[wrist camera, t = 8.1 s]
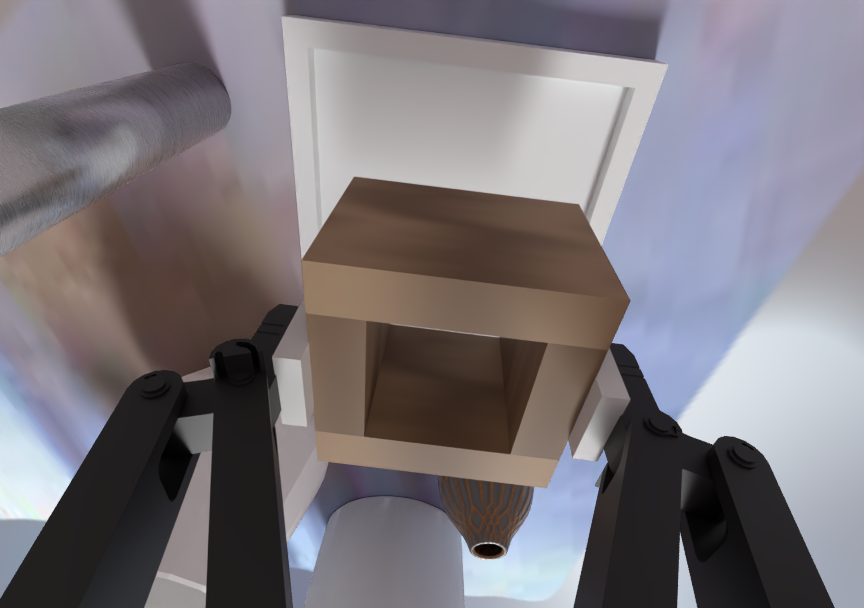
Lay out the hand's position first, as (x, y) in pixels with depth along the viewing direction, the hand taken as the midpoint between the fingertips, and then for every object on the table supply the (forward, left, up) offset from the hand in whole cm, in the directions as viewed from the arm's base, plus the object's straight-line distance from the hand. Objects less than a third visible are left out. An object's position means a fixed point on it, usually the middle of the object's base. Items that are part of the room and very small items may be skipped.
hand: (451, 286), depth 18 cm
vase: (+5, -19, -8) cm, 21 cm away
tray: (0, 0, -8) cm, 8 cm away
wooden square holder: (0, 0, 0) cm, 0 cm away
